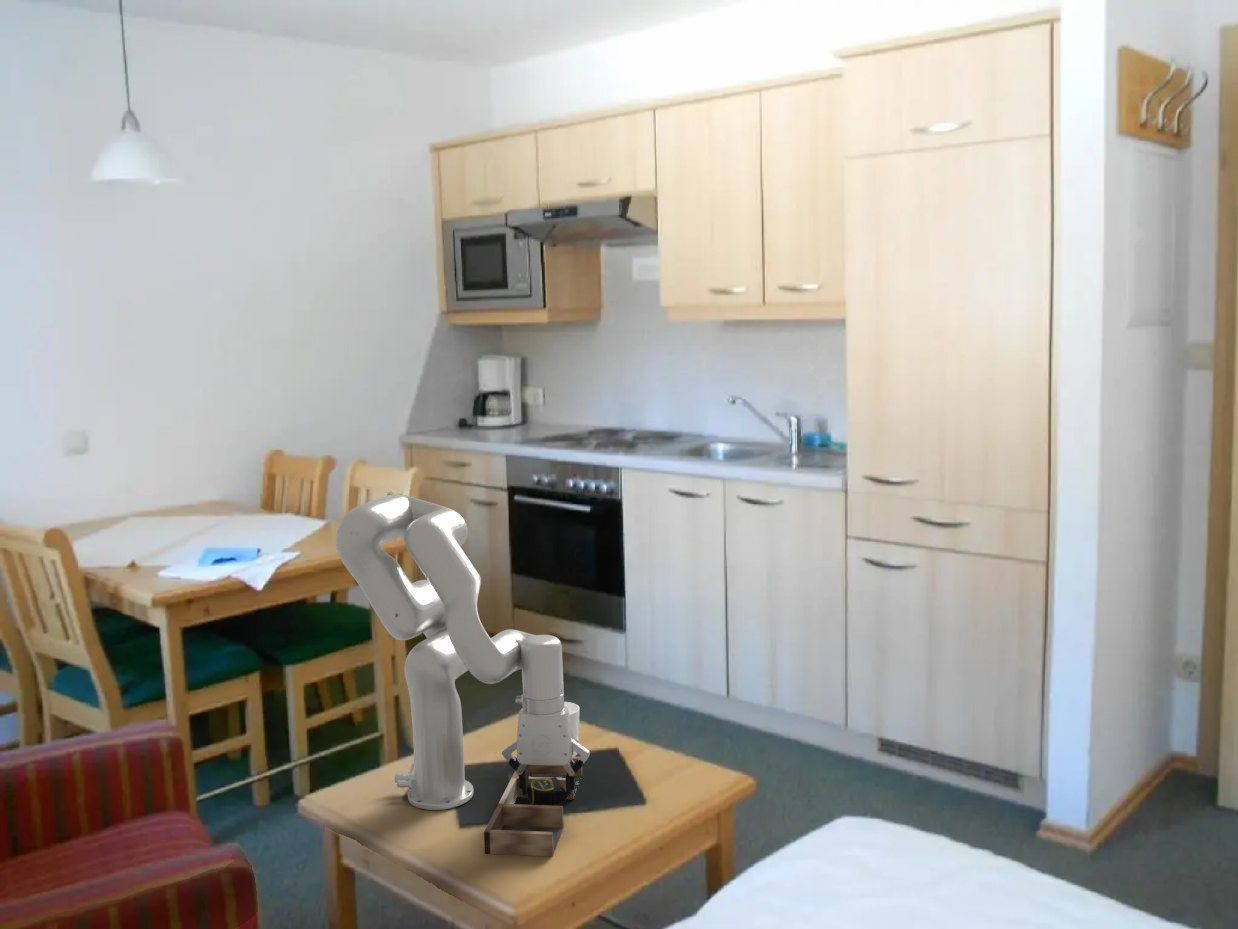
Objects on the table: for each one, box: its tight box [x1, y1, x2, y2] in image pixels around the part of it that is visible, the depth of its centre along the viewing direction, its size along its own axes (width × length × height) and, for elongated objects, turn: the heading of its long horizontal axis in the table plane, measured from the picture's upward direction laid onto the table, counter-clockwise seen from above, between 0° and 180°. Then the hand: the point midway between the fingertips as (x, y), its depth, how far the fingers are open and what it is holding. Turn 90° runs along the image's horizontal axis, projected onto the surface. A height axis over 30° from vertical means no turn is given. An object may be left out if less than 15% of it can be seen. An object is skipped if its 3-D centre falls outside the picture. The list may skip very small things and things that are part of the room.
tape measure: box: [527, 777, 567, 806], centre depth 213 cm, size 7×7×4 cm
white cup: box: [564, 701, 580, 756], centre depth 240 cm, size 8×8×10 cm
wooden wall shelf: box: [483, 755, 583, 857], centre depth 214 cm, size 12×33×4 cm, turn 173°
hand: (547, 792), depth 213 cm, fingers closed on tape measure, 7 cm apart
